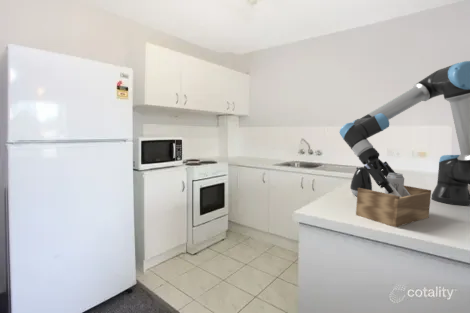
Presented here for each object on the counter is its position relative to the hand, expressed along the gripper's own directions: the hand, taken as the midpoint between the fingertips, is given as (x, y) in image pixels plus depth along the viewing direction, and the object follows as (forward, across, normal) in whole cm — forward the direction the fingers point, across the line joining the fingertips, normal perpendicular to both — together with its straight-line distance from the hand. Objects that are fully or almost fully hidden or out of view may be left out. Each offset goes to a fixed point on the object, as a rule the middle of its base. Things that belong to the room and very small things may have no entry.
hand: (403, 198), depth 97 cm
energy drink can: (+2, 0, -7) cm, 7 cm away
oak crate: (+3, 0, -8) cm, 9 cm away
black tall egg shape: (-16, -20, -27) cm, 37 cm away
